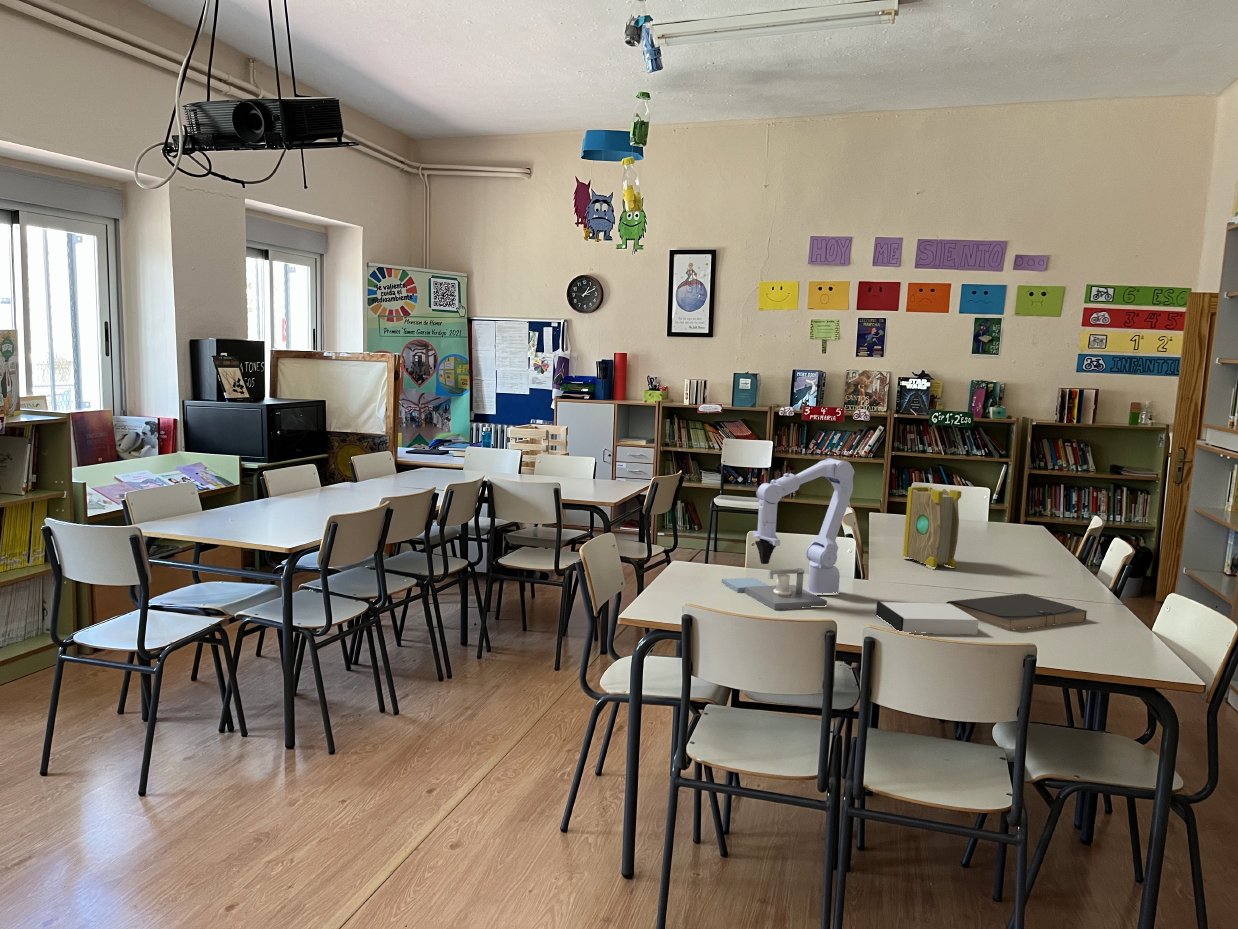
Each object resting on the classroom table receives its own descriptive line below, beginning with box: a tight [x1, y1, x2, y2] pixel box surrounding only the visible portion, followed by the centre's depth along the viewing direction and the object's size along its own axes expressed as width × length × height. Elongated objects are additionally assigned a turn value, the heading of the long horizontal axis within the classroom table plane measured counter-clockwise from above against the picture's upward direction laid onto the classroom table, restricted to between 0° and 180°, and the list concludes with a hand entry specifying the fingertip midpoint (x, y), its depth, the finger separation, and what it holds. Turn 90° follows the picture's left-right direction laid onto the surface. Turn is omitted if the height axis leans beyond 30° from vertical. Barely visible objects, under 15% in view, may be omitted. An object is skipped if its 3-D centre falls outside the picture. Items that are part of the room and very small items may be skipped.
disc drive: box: [875, 600, 979, 636], centre depth 242 cm, size 18×22×5 cm
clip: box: [768, 567, 805, 580], centre depth 263 cm, size 12×2×3 cm, turn 108°
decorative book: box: [902, 486, 962, 568], centre depth 325 cm, size 20×11×30 cm, turn 18°
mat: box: [721, 577, 770, 593], centre depth 278 cm, size 12×12×2 cm
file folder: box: [946, 593, 1088, 631], centre depth 257 cm, size 33×4×24 cm
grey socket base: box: [743, 573, 828, 611], centre depth 263 cm, size 18×20×8 cm
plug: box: [773, 574, 791, 596], centre depth 263 cm, size 5×5×8 cm
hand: (764, 563), depth 267 cm, fingers closed
